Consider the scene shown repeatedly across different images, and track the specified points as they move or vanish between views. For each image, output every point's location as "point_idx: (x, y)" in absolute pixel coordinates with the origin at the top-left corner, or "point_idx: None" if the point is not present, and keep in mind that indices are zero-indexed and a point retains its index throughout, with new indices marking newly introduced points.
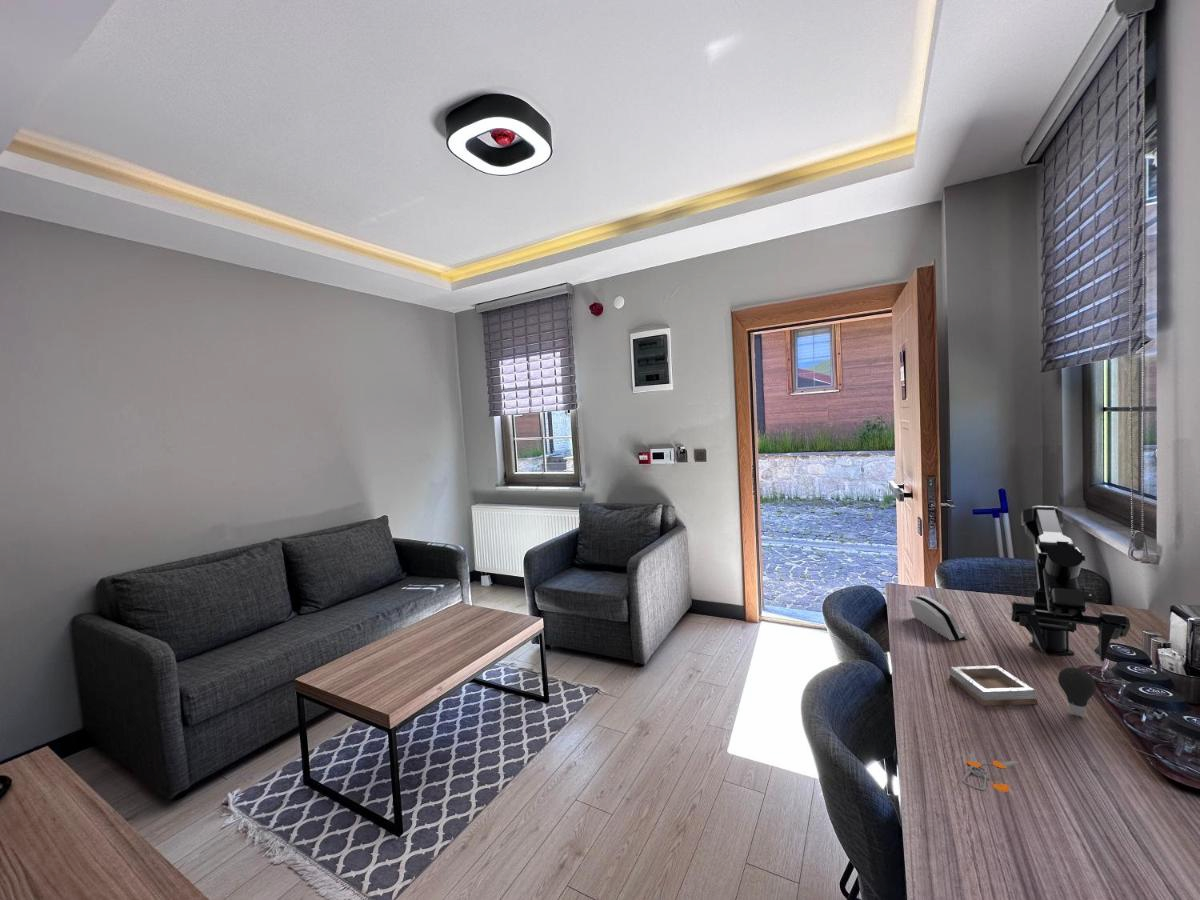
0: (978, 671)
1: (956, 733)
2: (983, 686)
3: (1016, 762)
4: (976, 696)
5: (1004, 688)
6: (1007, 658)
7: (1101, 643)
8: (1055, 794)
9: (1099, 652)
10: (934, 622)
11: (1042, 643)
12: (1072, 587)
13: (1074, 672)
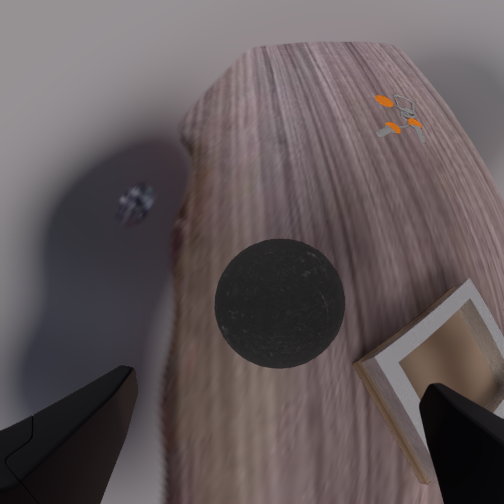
0: None
1: (451, 178)
2: (462, 369)
3: (378, 133)
4: None
5: (440, 324)
6: None
7: (71, 429)
8: (334, 97)
9: (116, 448)
10: None
11: (457, 399)
12: None
13: (303, 252)
